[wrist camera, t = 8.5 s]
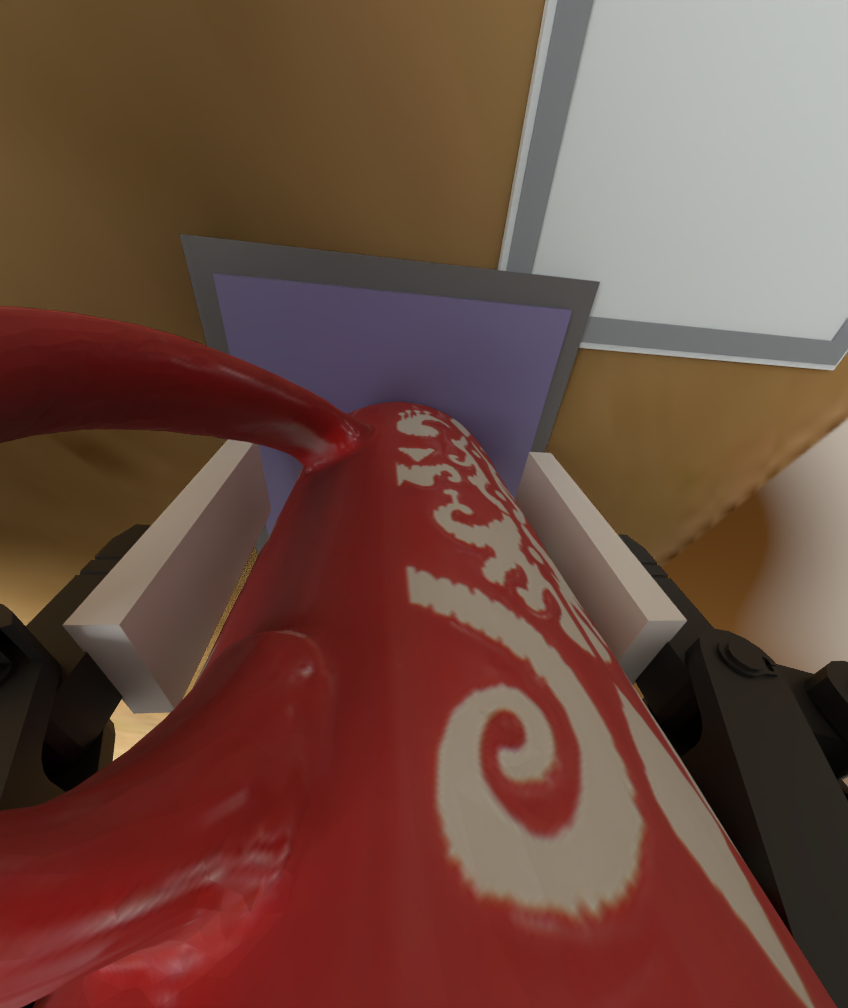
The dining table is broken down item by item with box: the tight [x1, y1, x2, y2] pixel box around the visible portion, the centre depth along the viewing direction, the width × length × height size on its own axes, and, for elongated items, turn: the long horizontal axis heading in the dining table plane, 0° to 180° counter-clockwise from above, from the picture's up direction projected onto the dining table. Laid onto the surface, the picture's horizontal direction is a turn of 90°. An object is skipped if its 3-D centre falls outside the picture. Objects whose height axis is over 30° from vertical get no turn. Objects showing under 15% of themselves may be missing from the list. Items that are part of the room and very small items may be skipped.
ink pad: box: [179, 234, 600, 555], centre depth 14 cm, size 12×12×1 cm
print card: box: [497, 0, 848, 370], centre depth 9 cm, size 14×14×1 cm
